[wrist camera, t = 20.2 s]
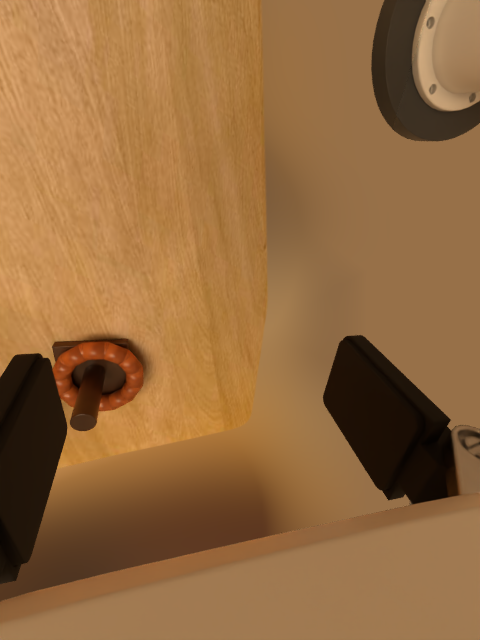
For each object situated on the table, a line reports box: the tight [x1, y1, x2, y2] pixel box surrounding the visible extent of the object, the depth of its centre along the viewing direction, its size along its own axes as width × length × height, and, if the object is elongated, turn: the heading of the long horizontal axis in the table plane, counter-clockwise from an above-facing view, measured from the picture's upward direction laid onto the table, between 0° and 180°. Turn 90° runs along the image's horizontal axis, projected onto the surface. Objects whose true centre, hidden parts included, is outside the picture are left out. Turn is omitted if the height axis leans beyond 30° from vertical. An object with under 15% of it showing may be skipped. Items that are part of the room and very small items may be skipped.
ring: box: [52, 342, 144, 411], centre depth 37 cm, size 10×10×2 cm
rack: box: [52, 339, 129, 431], centre depth 34 cm, size 8×8×9 cm
